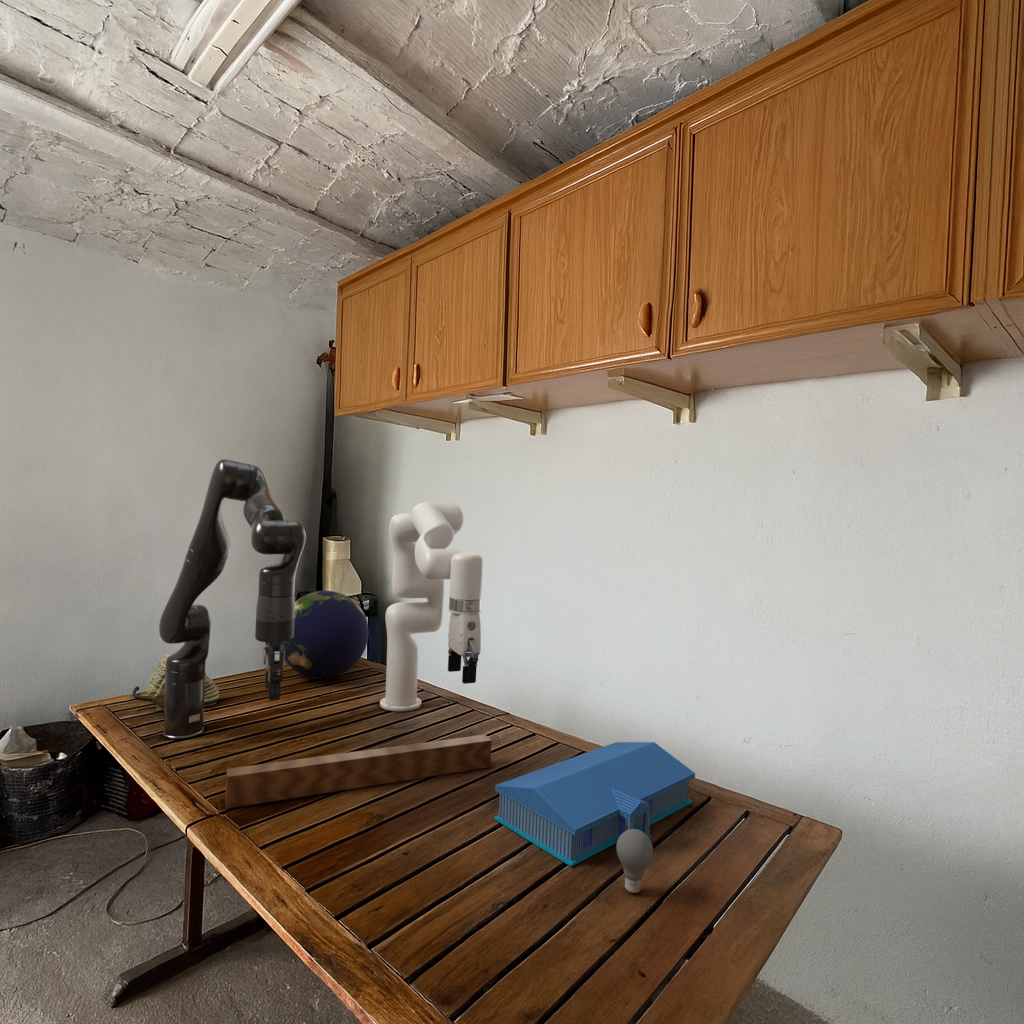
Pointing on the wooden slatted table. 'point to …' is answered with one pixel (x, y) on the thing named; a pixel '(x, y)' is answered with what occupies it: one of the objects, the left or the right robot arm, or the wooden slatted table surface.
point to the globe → (326, 635)
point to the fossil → (158, 687)
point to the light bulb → (634, 857)
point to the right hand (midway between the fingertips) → (461, 676)
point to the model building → (594, 798)
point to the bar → (354, 770)
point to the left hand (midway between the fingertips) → (272, 693)
